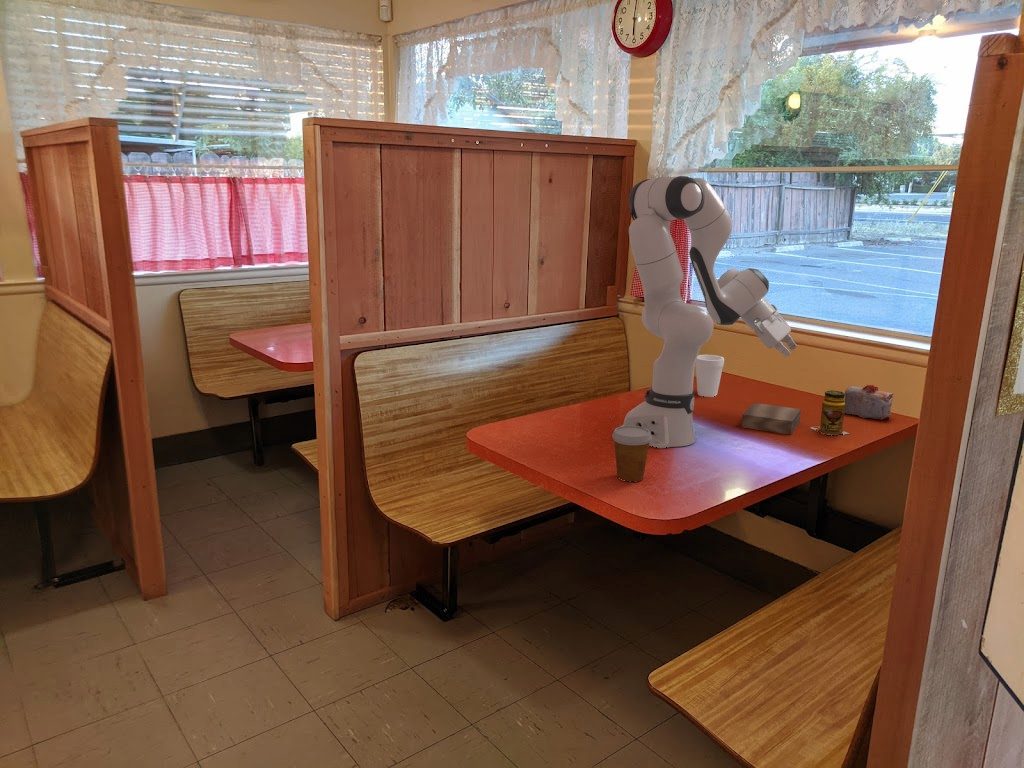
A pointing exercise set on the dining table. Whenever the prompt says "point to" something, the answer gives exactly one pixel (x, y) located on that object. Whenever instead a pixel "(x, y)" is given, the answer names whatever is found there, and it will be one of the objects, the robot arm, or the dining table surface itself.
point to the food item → (868, 402)
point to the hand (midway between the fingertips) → (792, 351)
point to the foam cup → (708, 374)
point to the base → (771, 418)
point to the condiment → (832, 413)
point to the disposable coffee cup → (631, 451)
